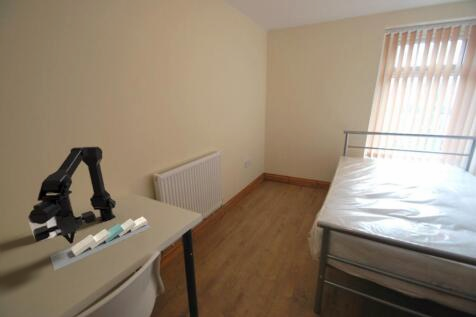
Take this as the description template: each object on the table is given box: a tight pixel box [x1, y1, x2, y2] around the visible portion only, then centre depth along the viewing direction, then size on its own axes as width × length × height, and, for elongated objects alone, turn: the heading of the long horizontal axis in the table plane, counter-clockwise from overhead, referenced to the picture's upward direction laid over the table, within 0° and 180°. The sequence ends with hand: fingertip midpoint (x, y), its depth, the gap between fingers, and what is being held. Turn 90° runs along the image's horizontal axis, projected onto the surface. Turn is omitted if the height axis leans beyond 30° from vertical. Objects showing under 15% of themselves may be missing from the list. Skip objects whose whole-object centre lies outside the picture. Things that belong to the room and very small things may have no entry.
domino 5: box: [130, 216, 148, 232], centre depth 104 cm, size 2×5×8 cm
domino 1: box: [70, 233, 96, 256], centre depth 88 cm, size 2×5×8 cm
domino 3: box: [105, 223, 124, 243], centre depth 96 cm, size 2×5×8 cm
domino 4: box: [118, 217, 136, 237], centre depth 100 cm, size 2×5×8 cm
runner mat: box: [49, 223, 152, 271], centre depth 94 cm, size 11×37×1 cm, turn 137°
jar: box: [27, 215, 57, 243], centre depth 96 cm, size 9×8×12 cm
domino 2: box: [90, 228, 111, 249], centre depth 92 cm, size 2×5×8 cm
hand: (71, 242), depth 85 cm, fingers closed
